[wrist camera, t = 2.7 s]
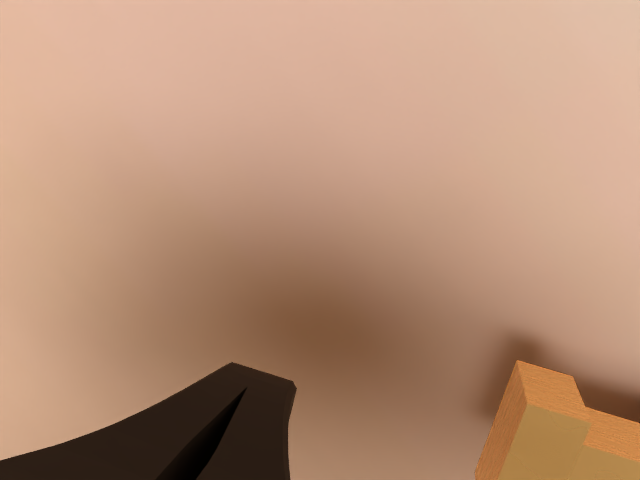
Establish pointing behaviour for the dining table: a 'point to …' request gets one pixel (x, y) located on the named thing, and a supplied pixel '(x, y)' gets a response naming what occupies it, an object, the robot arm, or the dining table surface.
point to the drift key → (556, 434)
